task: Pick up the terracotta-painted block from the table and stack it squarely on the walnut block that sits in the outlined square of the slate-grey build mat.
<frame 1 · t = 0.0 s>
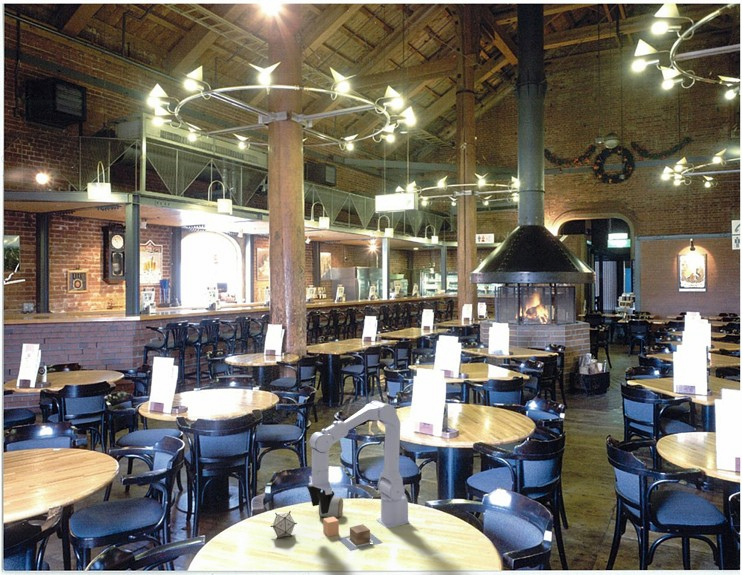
hand: (320, 509, 184), 10 cm above the table, tool pointing down, fingers open, 7 cm apart
build mat: (359, 541, 182), on the table
terracotta block: (331, 534, 188), on the table
game die: (283, 537, 186), on the table
walnut block: (359, 540, 182), resting on build mat
grey cylinder: (331, 515, 205), on the table
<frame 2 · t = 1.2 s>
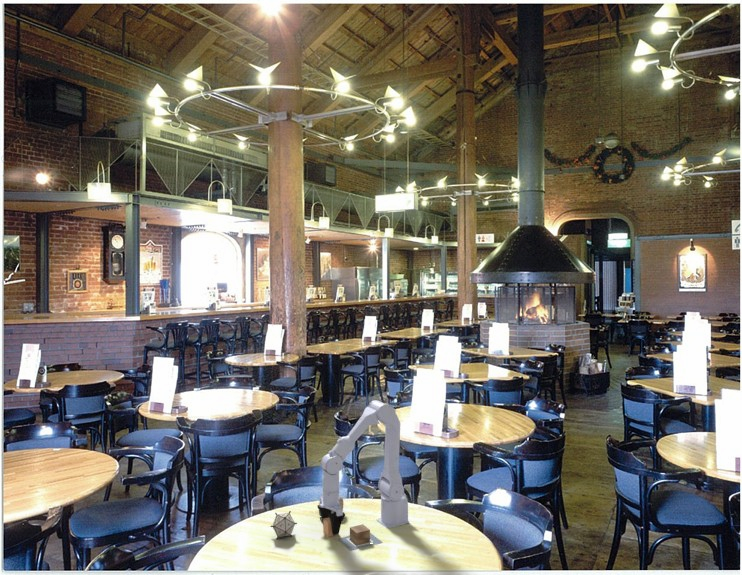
hand: (330, 529, 188), 1 cm above the table, tool pointing down, fingers open, 7 cm apart
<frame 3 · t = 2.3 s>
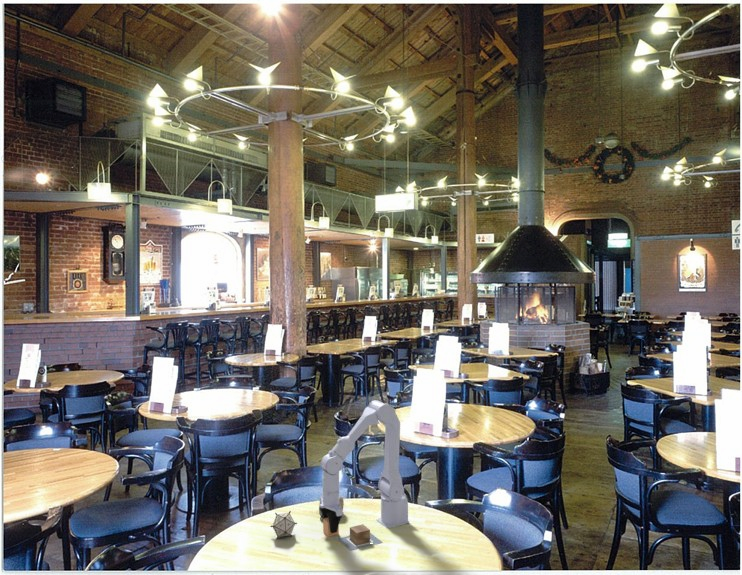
hand: (330, 529, 188), 1 cm above the table, tool pointing down, fingers closed on terracotta block, 4 cm apart
terracotta block: (330, 533, 188), on the table, touching gripper
everything else where it was.
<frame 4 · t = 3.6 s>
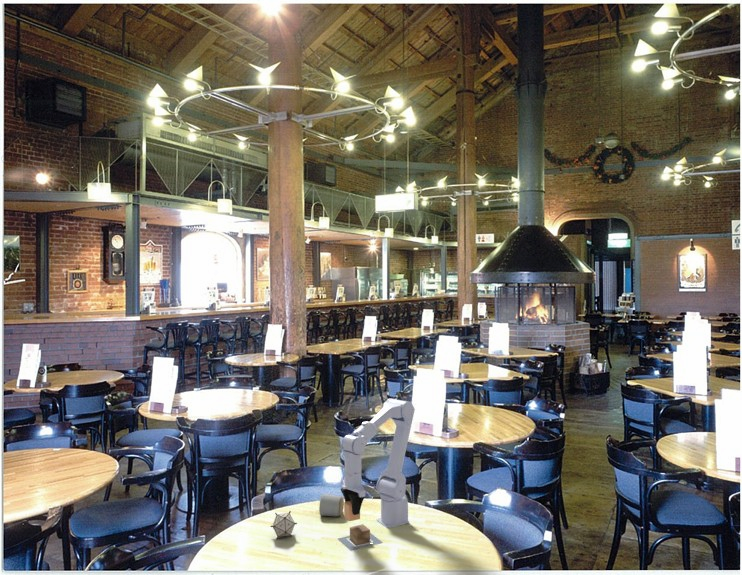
hand: (353, 511, 184), 9 cm above the table, tool pointing down, fingers closed on terracotta block, 4 cm apart
terracotta block: (352, 517, 184), point 7 cm above the table, touching gripper
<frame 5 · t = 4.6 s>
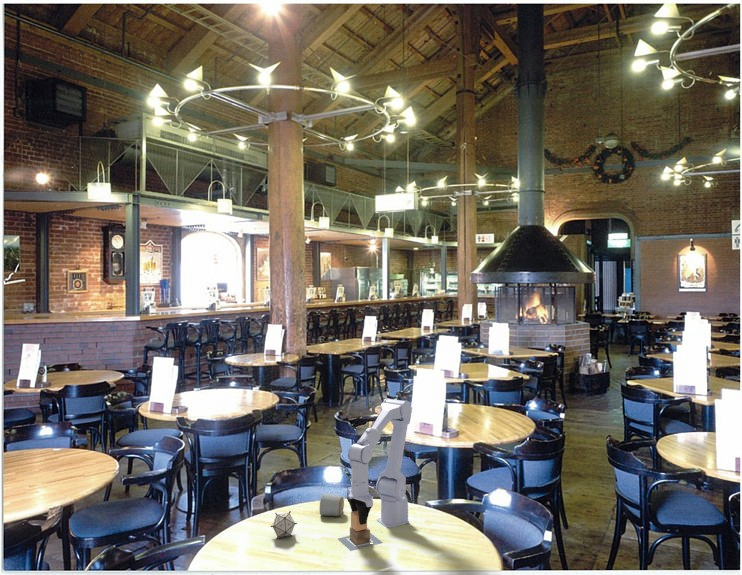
hand: (359, 521, 183), 7 cm above the table, tool pointing down, fingers closed on terracotta block, 4 cm apart
terracotta block: (358, 527, 182), point 5 cm above the table, touching gripper
when the fingers open (7 cm above the table, at t = 5.1 s): terracotta block stays where it is, resting on walnut block.
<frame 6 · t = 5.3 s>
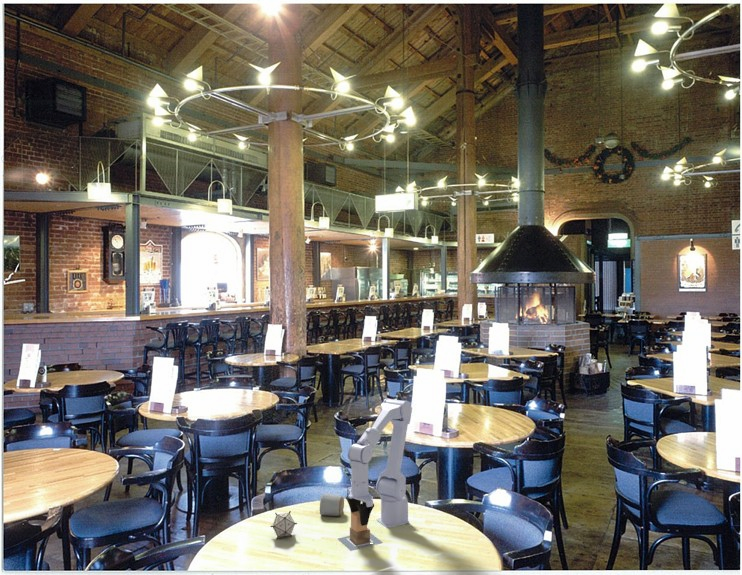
hand: (359, 521, 183), 7 cm above the table, tool pointing down, fingers open, 6 cm apart
terracotta block: (359, 528, 182), point 4 cm above the table, touching walnut block
walnut block: (359, 540, 182), resting on build mat, touching terracotta block
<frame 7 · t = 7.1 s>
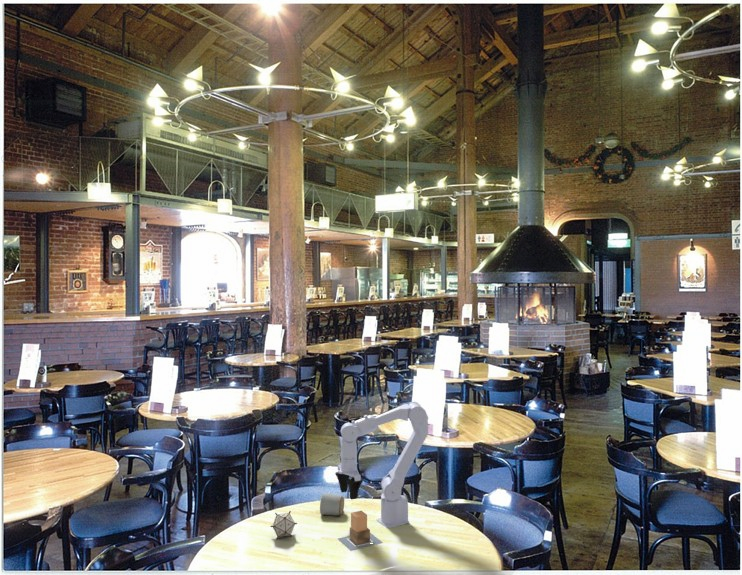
hand: (348, 495, 196), 10 cm above the table, tool pointing down, fingers open, 7 cm apart
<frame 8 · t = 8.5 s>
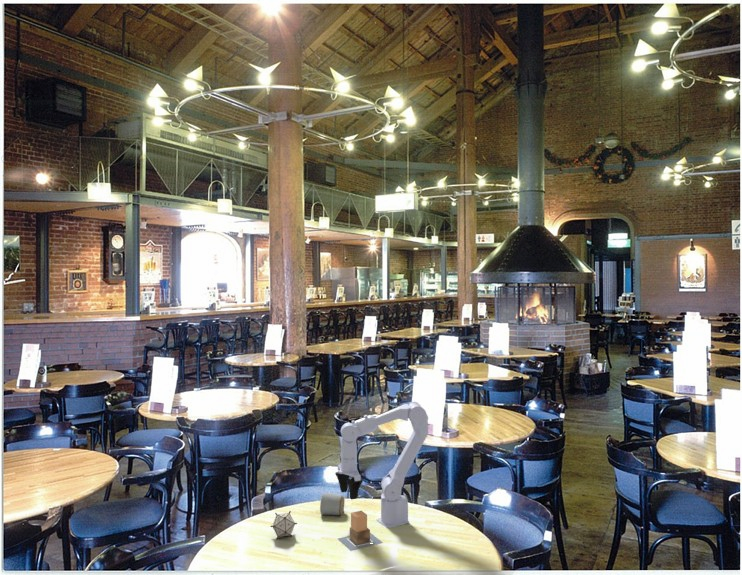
hand: (348, 495, 196), 10 cm above the table, tool pointing down, fingers open, 7 cm apart
at the end: terracotta block 0.3 cm off-centre on the walnut block, point 4.0 cm above the walnut block's base; terracotta block tilted 0°; walnut block moved 0.0 cm from its start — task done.
